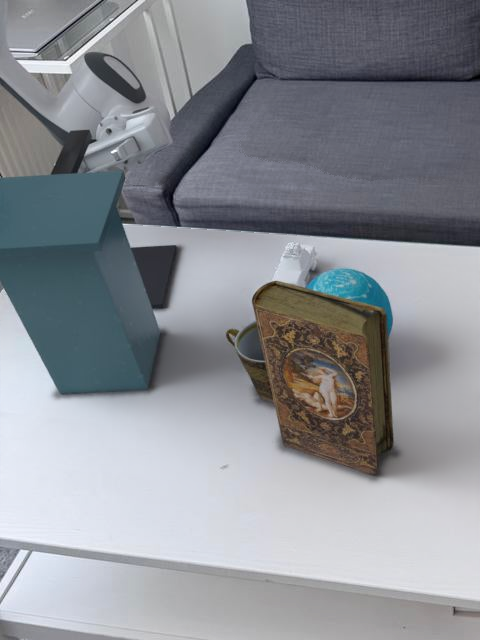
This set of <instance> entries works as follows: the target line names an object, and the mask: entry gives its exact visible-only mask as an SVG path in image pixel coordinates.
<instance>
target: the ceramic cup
mask: <svg viewBox="0 0 480 640" xmlns="http://www.w3.org/2000/svg"><path fill="white" fill-rule="evenodd" d="M230 335H231V336H233V337H234V340H233V338H232V337H231V336H230ZM225 337H226V340H227V341H228V342H229V343H230V345H231V346H233V347H234V350H235V351H236V354H237V356H238V358H239V361H240V363H241V364H242V367H243V368H244V370H245V372H246V373H247V375H248V377H249V378H250V379H249V380H250V381H251V383H252V385H253V387H254V389H255V391H256V393H257V395H258V397H259V398H260V400H262V401H264V402H268V403H270V404H273V405H274V400H273V396H272V391H271V387H270V382H269V378H268V373H267V369H266V364H265V359H264V355H263V350H262V346H261V341H260V337H259V332H258V327H257V323H256V320H255V321H252V322H250V323H248V324H246V325H245V326H243V327H242V328H241V329H240V330H239V329H236V328H230V329H228V330H227V331H226V332H225Z"/></svg>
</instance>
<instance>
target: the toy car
mask: <svg viewBox="0 0 480 640" xmlns="http://www.w3.org/2000/svg"><path fill="white" fill-rule="evenodd" d="M317 255H318V252H317V251H316V247H315V246H314V245H308V244H301V243H299V242H294V241H291V242H290V243H287V245H286V246H285V248H284V251H283V253H282V255H281V257H280V260H279V263H278V266H274V269H275V270H276V271H275V273H274V275H273V277H272V278H271V281H270V282H272V281H280V282H284V283H288V284H292V285H295V286H299V287H303V288H306V286H307V285H308V284H309V281H310V278H311V277H310V272H309V271H310V270H311V271H315V270H316V267H317V265H318V262H317V259H316V258H315V257H317Z"/></svg>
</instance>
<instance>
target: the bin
mask: <svg viewBox="0 0 480 640" xmlns="http://www.w3.org/2000/svg"><path fill="white" fill-rule="evenodd" d="M122 221H123V220H122V219H121V216H120V214H119V210H118V208H117V206H116V208H115V211H114V214H113V217H112V220H111V223H110V226H109V229H108V232H107V235H106V238H105V241H104V244H103V247H102V250H101V251H90V252H73V253H55V254H38V255H21V256H4V257H0V284H1V286H2V287H3V290H4V291H5V293H6V295H7V297H8V299H9V301H10V302H11V305H12V307H13V308H14V310H15V312H16V314H17V316H18V318H19V319H20V321H21V324H22V325H23V327H24V329H25V331H26V333H27V334H28V337H29V338H30V341H31V342H32V344H33V346H34V348H35V350H36V352H37V353H38V356H39V358H40V360H41V362H42V364H43V365H44V367H45V369H46V371H47V372H48V375H49V376H50V378H51V380H52V382H53V384H54V386H55V388H56V390H57V392H58V393H59V395H73V394H90V393H92V394H93V393H109V392H110V393H111V392H125V391H144V390H148V389H149V385H150V381H151V377H152V372H153V368H154V363H155V359H156V354H157V350H158V346H159V341H160V336H161V329H160V327H159V325H158V324H159V323H158V321H157V318H156V316H155V312H154V310H153V309H154V308H152V307H151V304H150V301H149V298H148V295H147V292H146V290H145V287H144V284H143V281H142V278H141V275H140V272H139V270H138V267H137V264H136V261H135V258H134V255H133V253H132V250H131V248H132V247H131V244H130V242H129V239H128V236H127V233H126V230H125V227H124V224H123V222H122Z"/></svg>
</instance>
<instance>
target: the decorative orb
mask: <svg viewBox="0 0 480 640" xmlns="http://www.w3.org/2000/svg"><path fill="white" fill-rule="evenodd" d="M305 288H307V289H311V290H315V291H319V292H322V293H326V294H330V295H334V296H338V297H342V298H346V299H350V300H353V301H357V302H361V303H365V304H369V305H373V306H377V307H381V308H383V309H384V310H385V311H386V314H387V326H388V341H389V339H390V336H391V334H392V329H393V323H394V316H393V310H392V305H391V301H390V299H389V296H388V294H387V293H386V291H385V290H384V288H383V287H382V286H381V285H380V284H379V282H377V280H375V278H373V277H372V276H370V275H368V274H367V273H365V272H362V271H360V270H357V269H353V268H346V267H345V268H344V267H343V268H342V267H341V268H333V269H330V270H327V271H324V272H322V273H321V274H319V275H318V276H317V275H316V277H314V278H313V279H312V280H311V281H310V282H308V283H307V285H306V287H305Z"/></svg>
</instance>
